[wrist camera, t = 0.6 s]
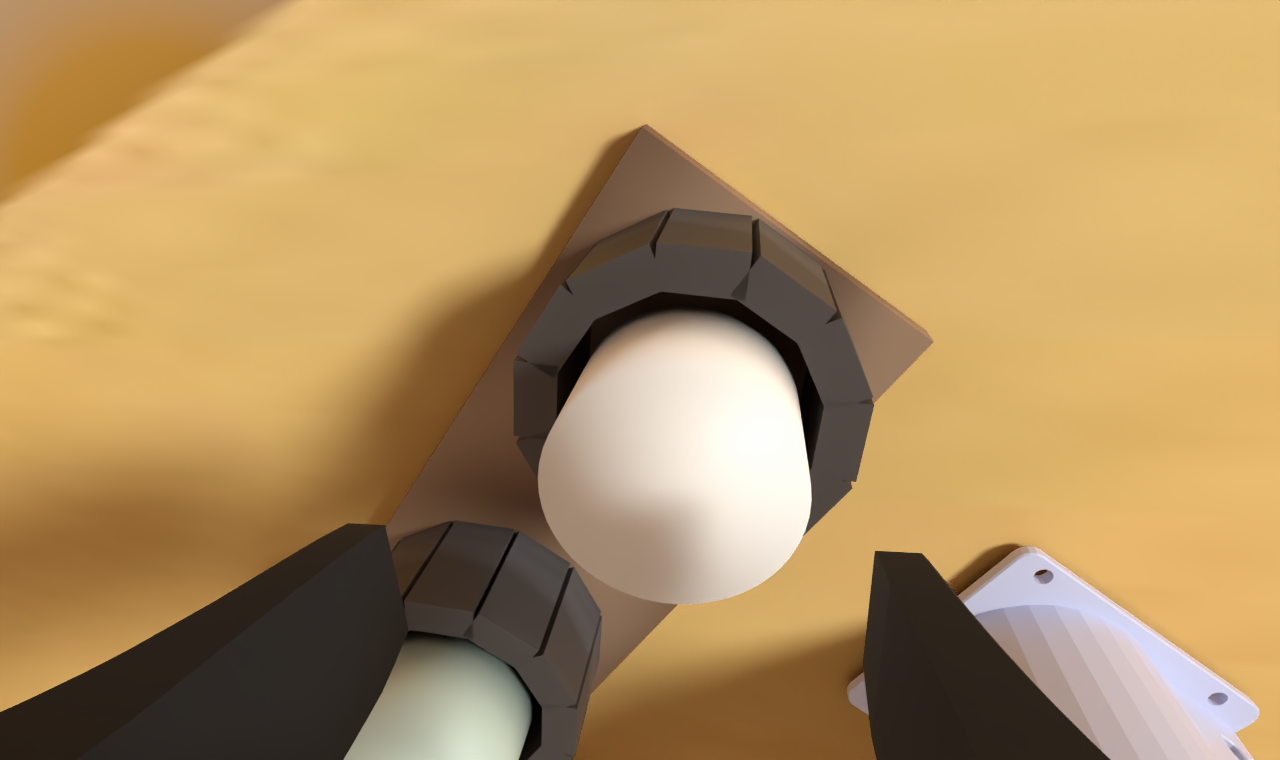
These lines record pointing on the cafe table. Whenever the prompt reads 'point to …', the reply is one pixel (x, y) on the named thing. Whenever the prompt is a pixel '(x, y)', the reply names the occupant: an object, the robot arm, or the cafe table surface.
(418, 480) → the collar board
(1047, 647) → the robot arm
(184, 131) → the cafe table surface
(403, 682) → the peg sage
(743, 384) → the peg cream
